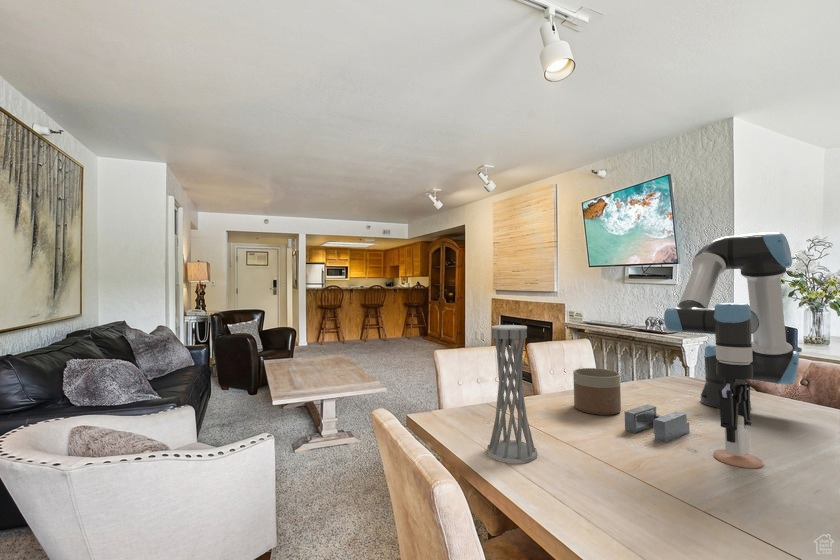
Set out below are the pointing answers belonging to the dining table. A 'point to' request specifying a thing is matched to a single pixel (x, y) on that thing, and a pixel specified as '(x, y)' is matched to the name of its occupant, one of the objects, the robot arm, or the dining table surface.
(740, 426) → the pepper shaker
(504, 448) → the grey tall lattice tower
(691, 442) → the dining table surface
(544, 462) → the dining table surface
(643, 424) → the vise
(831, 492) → the dining table surface
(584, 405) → the planter
